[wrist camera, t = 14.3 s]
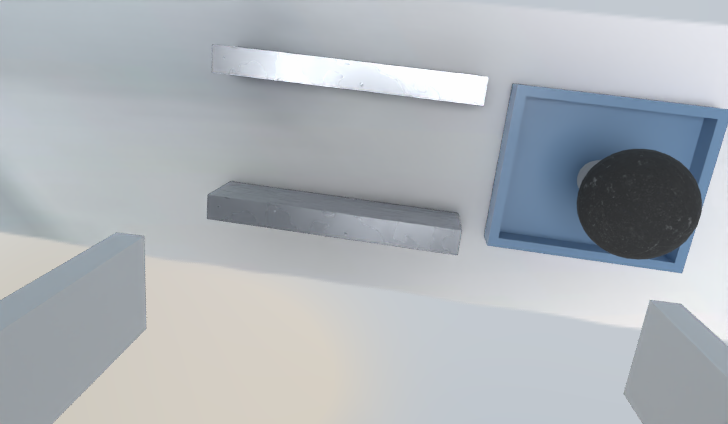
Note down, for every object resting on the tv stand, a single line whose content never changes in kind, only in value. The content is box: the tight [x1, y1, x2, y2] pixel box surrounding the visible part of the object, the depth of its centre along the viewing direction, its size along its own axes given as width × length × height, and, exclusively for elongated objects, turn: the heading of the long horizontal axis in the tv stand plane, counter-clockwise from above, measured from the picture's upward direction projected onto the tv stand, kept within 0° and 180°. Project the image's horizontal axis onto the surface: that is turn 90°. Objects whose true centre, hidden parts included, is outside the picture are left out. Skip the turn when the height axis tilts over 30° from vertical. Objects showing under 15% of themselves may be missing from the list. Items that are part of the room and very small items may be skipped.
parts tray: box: [484, 84, 728, 273], centre depth 33 cm, size 12×10×2 cm
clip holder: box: [207, 44, 489, 255], centre depth 33 cm, size 16×11×4 cm
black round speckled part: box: [577, 149, 702, 260], centre depth 29 cm, size 6×6×10 cm
